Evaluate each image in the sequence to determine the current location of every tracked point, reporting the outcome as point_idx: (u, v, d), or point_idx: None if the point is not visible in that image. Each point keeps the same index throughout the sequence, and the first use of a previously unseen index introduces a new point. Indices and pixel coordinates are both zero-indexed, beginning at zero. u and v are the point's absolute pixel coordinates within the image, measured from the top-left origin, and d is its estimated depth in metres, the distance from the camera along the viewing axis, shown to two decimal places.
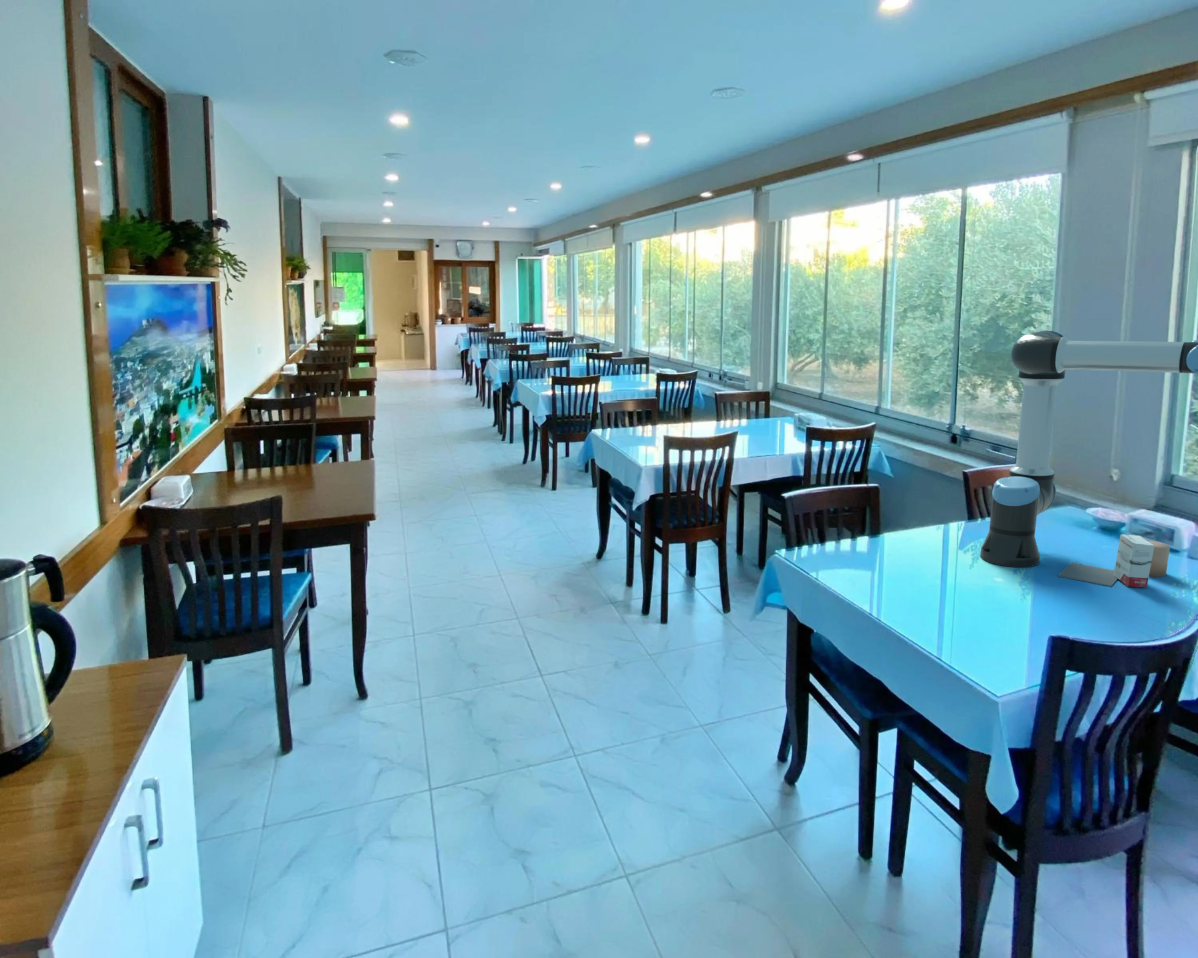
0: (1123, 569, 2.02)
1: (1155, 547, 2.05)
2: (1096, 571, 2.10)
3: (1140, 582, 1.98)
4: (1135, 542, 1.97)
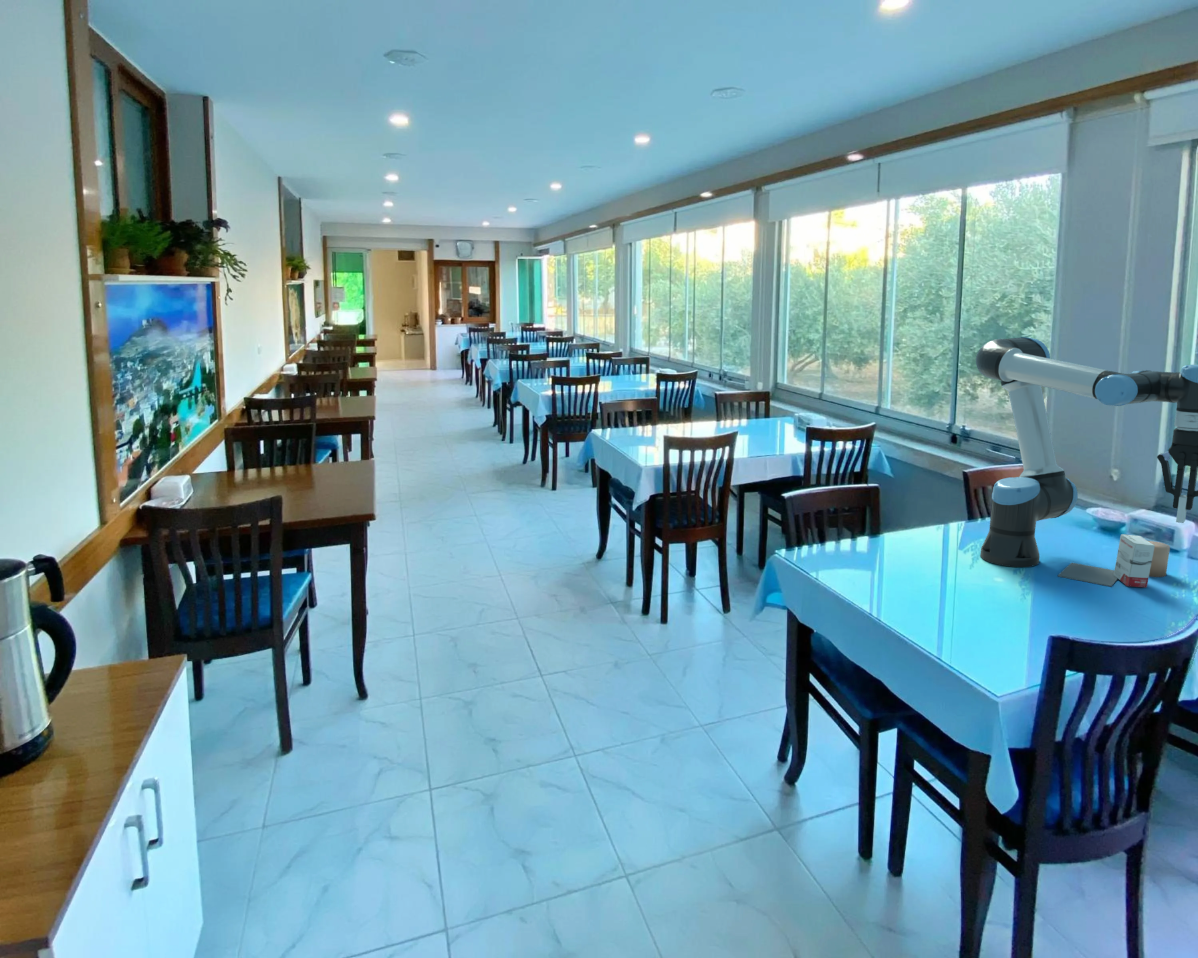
0: (1123, 569, 2.02)
1: (1155, 547, 2.05)
2: (1096, 571, 2.10)
3: (1140, 582, 1.98)
4: (1135, 542, 1.97)
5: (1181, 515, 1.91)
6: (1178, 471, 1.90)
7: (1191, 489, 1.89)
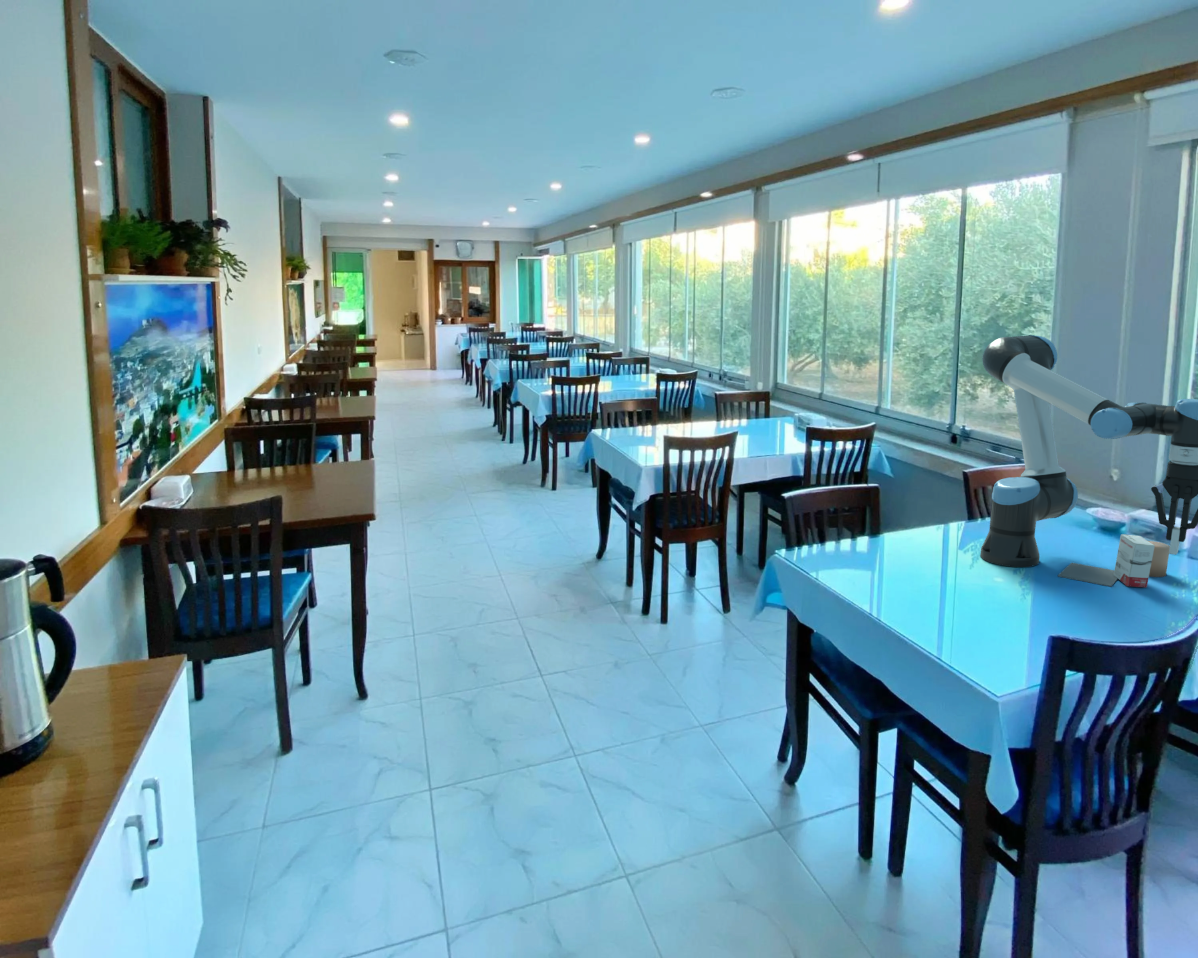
0: (1123, 569, 2.02)
1: (1155, 547, 2.05)
2: (1096, 571, 2.10)
3: (1140, 582, 1.98)
4: (1135, 542, 1.97)
5: (1174, 547, 1.93)
6: (1172, 503, 1.92)
7: (1184, 521, 1.91)
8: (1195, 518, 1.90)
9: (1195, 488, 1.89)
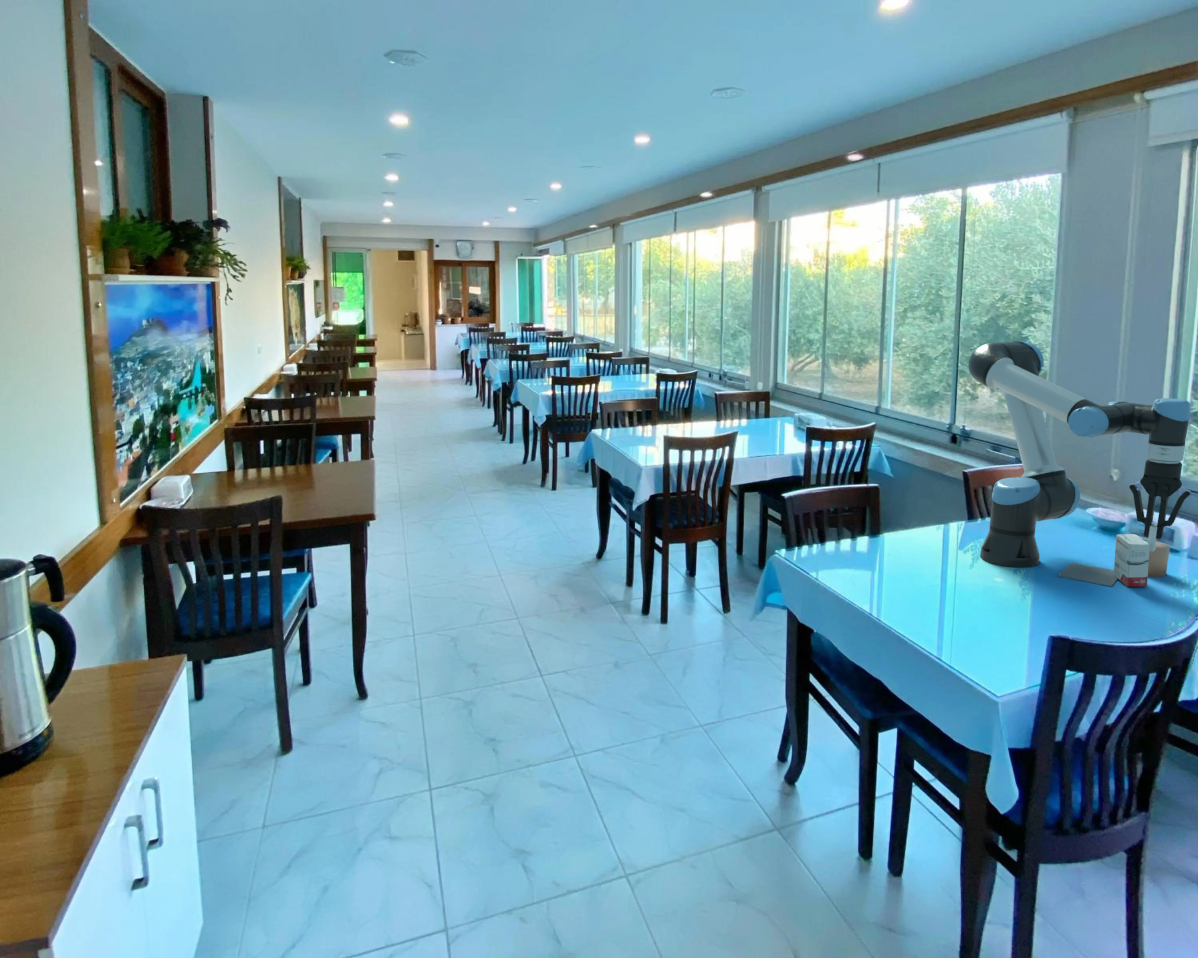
0: (1122, 569, 2.02)
1: None
2: (1096, 571, 2.10)
3: (1140, 581, 1.98)
4: (1130, 542, 1.97)
5: (1151, 544, 1.97)
6: (1149, 501, 1.96)
7: (1161, 519, 1.95)
8: (1172, 515, 1.93)
9: (1172, 486, 1.92)
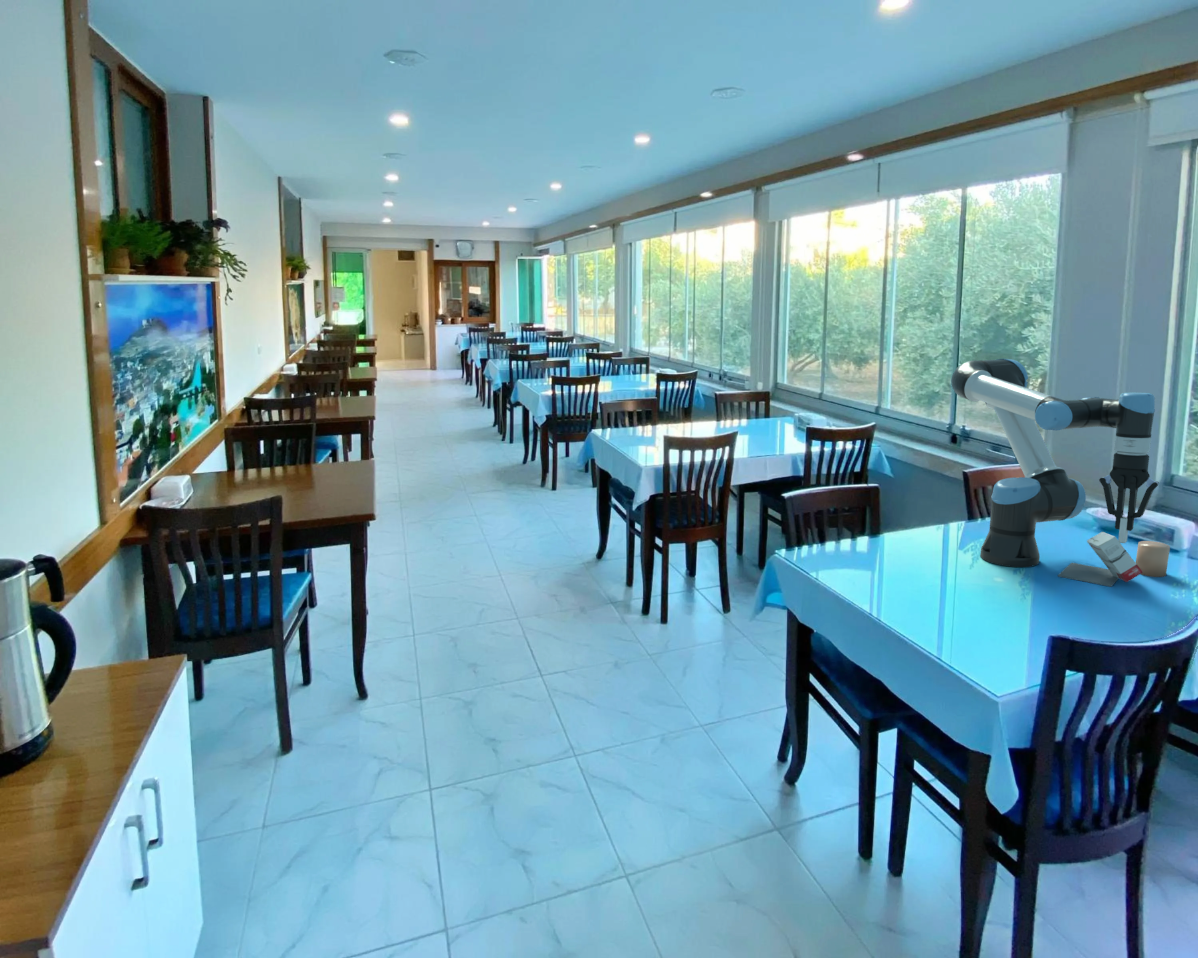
0: (1112, 569, 2.02)
1: (1155, 547, 2.05)
2: (1096, 571, 2.10)
3: (1134, 571, 1.98)
4: (1098, 543, 2.01)
5: (1123, 536, 2.00)
6: (1119, 493, 1.99)
7: (1131, 510, 1.98)
8: (1141, 507, 1.96)
9: (1140, 478, 1.96)
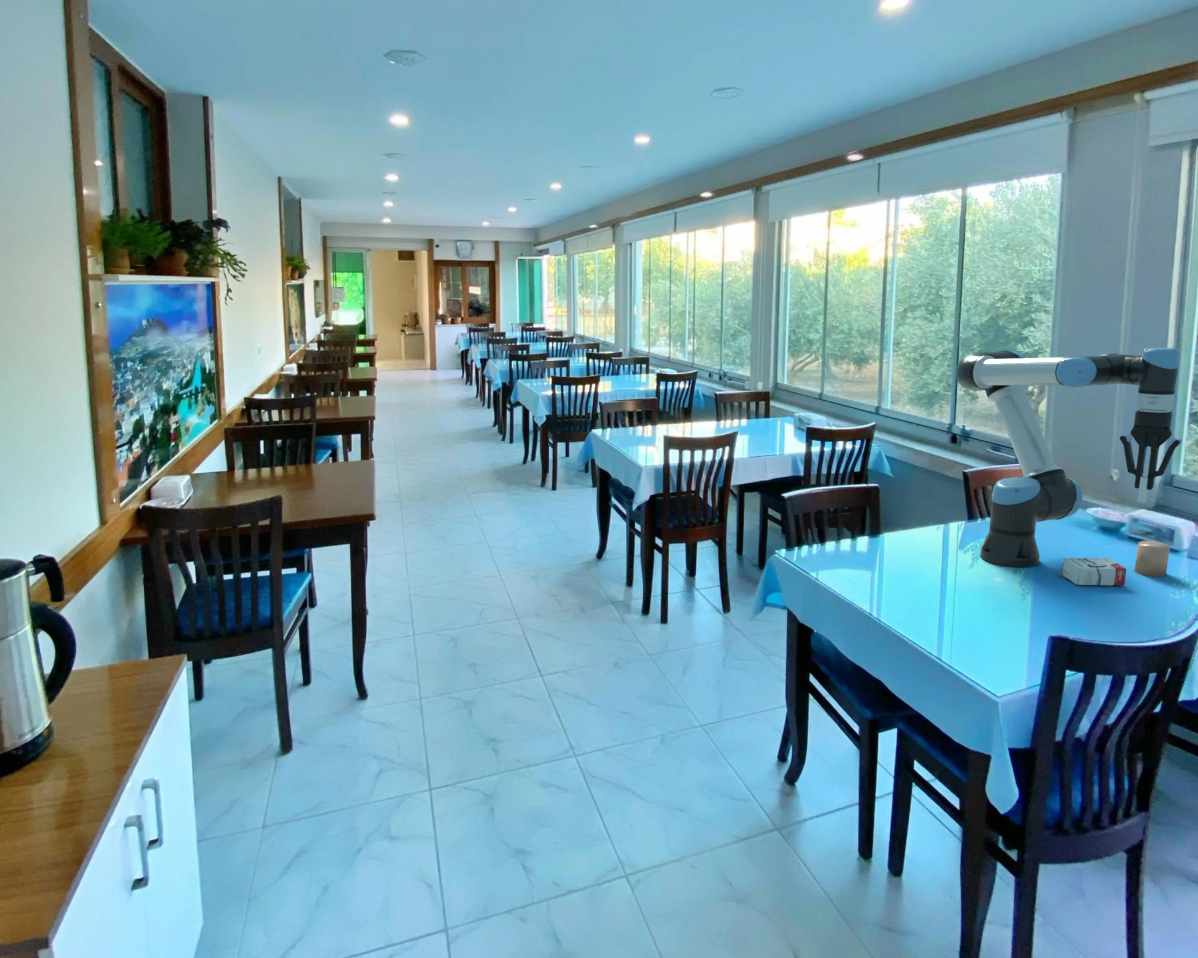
0: None
1: (1155, 547, 2.05)
2: None
3: (1120, 575, 1.99)
4: (1075, 580, 2.02)
5: (1142, 495, 1.96)
6: (1139, 452, 1.95)
7: (1152, 469, 1.94)
8: (1162, 465, 1.92)
9: (1162, 435, 1.91)
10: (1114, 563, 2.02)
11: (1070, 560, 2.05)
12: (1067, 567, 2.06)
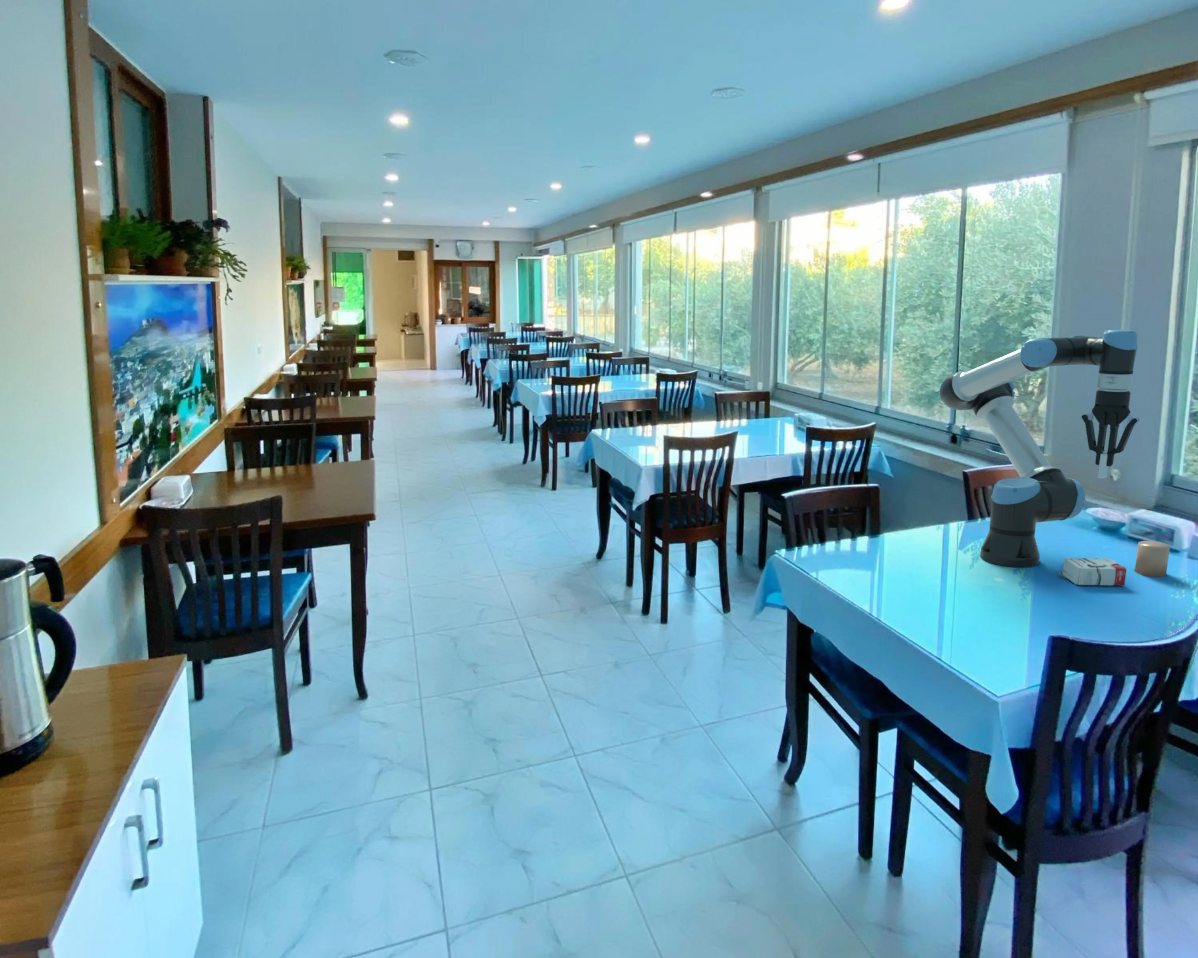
0: None
1: (1155, 547, 2.05)
2: None
3: (1120, 575, 1.99)
4: (1075, 580, 2.02)
5: (1102, 471, 2.05)
6: (1100, 430, 2.04)
7: (1111, 446, 2.02)
8: (1120, 443, 2.01)
9: (1120, 414, 2.00)
10: (1114, 563, 2.02)
11: (1070, 560, 2.05)
12: (1067, 567, 2.06)
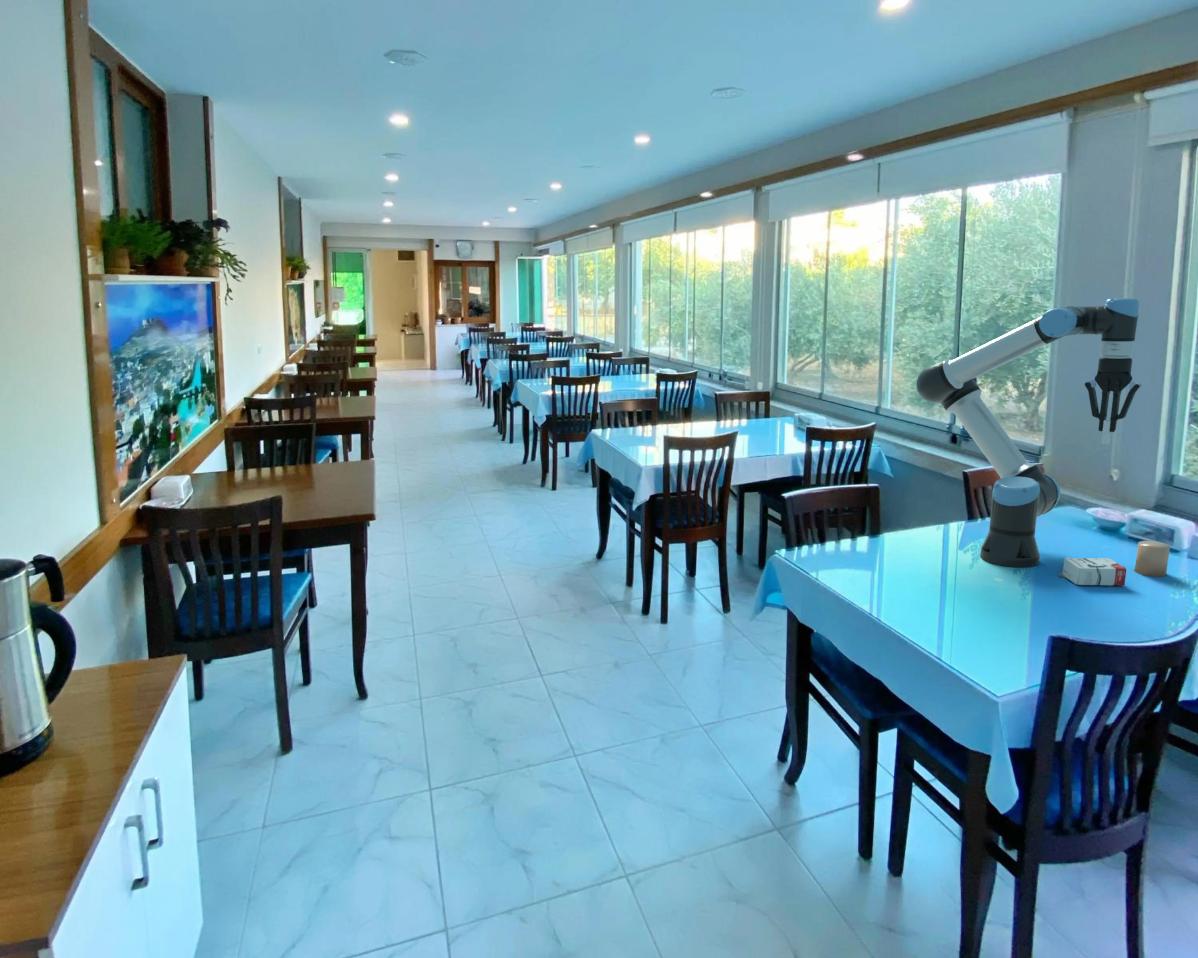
0: None
1: (1155, 547, 2.05)
2: None
3: (1120, 575, 1.99)
4: (1075, 580, 2.02)
5: (1105, 437, 2.10)
6: (1103, 396, 2.09)
7: (1114, 412, 2.08)
8: (1123, 408, 2.06)
9: (1123, 380, 2.05)
10: (1114, 563, 2.02)
11: (1070, 560, 2.05)
12: (1067, 567, 2.06)
